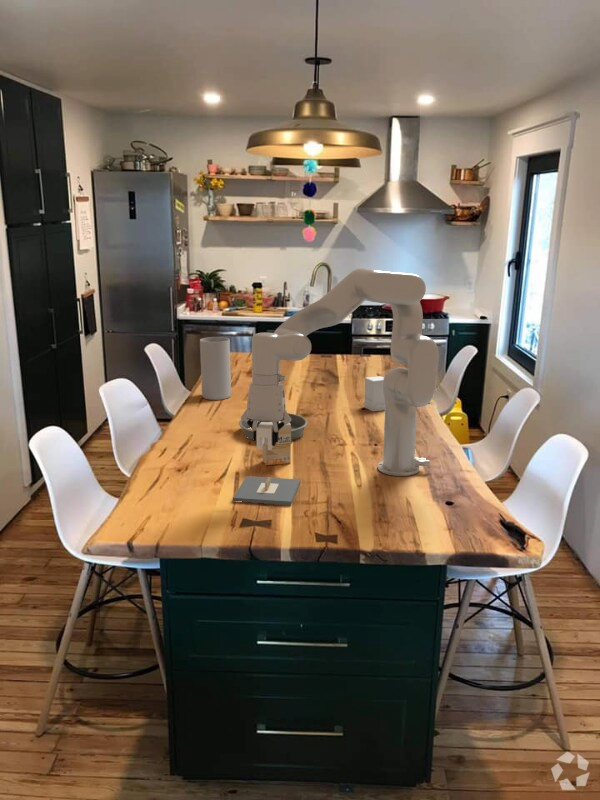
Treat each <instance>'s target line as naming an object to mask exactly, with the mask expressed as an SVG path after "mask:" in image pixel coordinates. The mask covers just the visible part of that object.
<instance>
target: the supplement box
mask: <svg viewBox="0 0 600 800" xmlns="http://www.w3.org/2000/svg"><path fill="white" fill-rule="evenodd" d="M280 422H281V421H279V423H280ZM271 423H272V422H271ZM291 443H292V440H291V424H290V423H288V424H286V425H284V426H283V427H282V428H281V429H280V430H279V435H278V442H276V444H275V446H273V448H272V449H271V450H268V438H265V437H264V444H263V445H262V462H263V463H265V464H264V465H265V466H266V465H268V466H274V465H276V464H277V465H285V464H286V465H287V464H289V465H290V464H291V461H292V459H291V458H292V457H291V456H292V454H291V451H292V449H291V448H292V447H291V446H292V445H291Z"/></svg>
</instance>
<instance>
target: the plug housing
mask: <svg viewBox="0 0 600 800" xmlns="http://www.w3.org/2000/svg"><path fill="white" fill-rule="evenodd" d="M272 432H273V423H271V422H261V423H260V424H259V425H258V427H257V428H256V440H257V445H256V450H261V449H262V448H263V444H264V437H265V438H268V450H271V449H272V448H273V445H272Z"/></svg>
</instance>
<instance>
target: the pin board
mask: <svg viewBox="0 0 600 800" xmlns="http://www.w3.org/2000/svg"><path fill="white" fill-rule="evenodd" d="M300 485H301V479H295V478H282V477H264V476H250V475H249V476H248V475H247V476H246V477H245V478H244V479H243V481H242V483H241V484H240V486H239V487H238V489H237V491H236V492H235V493H234V495H233V497H232V502H233V501H242V502H252V503H251V504H257V503H264V504H263V505H273V504H274V506H287V507H289V506H292V505H293V503H294V500H295V497H296V495H297V492H298V489H299V488H300ZM242 502H241V503H242Z"/></svg>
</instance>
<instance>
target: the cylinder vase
mask: <svg viewBox="0 0 600 800" xmlns="http://www.w3.org/2000/svg"><path fill="white" fill-rule="evenodd" d="M199 349H200V351H199V352H200V355H199V356H200V375H201V376H200V377H201V396H202V398H204V399H205V400H211V401H220V400H226V399H229V398H230V397H232V396H231V395H232V384H231V383H232V379H231V378H232V377H231V375H232V374H231V371H232V370H231V341H230V338H229V337H228V338H227V337H223V336H221V337H220V336H211V337H204V338H200V339H199Z"/></svg>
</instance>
